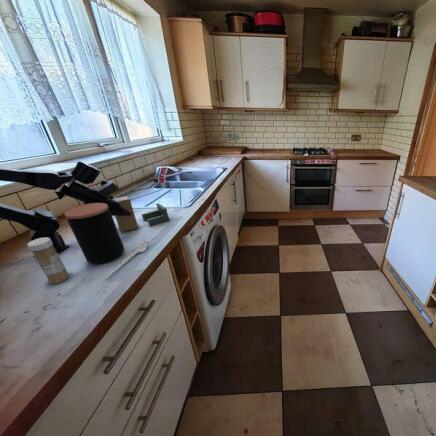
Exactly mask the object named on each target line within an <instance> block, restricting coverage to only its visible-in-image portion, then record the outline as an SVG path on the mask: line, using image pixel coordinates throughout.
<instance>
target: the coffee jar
mask: <svg viewBox="0 0 436 436" xmlns="http://www.w3.org/2000/svg"><path fill="white" fill-rule="evenodd" d="M107 209H108V205H107V204H105V203H91V204H82V205H78V206H74V207H72V208H70V209H68V210H66V211H65V212H64V213H63V215H64V217H65V218H67V224H68V225H69V227H70V229H71V231H72V233H73V235H74V237H75V239H76V241H77V244H78V245H79V248H80V251H81V253H82V254H83V256H84V258H85V260H86V262H87V263H90V264H92V265H104V264H107V263H108V264H109V263H110V262H113V261H115V260H117V259H119V258H120V257H121V256H122V255H123V254H124V252H125V247H124V244H123V241H122V238H121V235H120V233H119V230H118V227H117V225H116V222H115V220H114V218H113V217H114V216H112V215H111V212H110V211H109V210H107Z"/></svg>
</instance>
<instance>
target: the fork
mask: <svg viewBox="0 0 436 436" xmlns="http://www.w3.org/2000/svg"><path fill="white" fill-rule="evenodd" d="M149 244H150V239H143V240H142V242H141V243H140V244H139V246H138V247H137V248H136V249H134V250H133V251H132V252H131V253H130V254H129V255H128V256H127V257H125V259H124V260H122V261H121V262H120V263H119V264H118V265H117V266H115V267H114V268H113V269H112V270H111V271H110V272H109V273H107V274H106V275H105V276H104V279H109V278H110V277H111V276H113V275H114V273H116V272H117V271H118V270H119V269H120V268H122V266H124V265H125V264H126V263H127V262H128V261H130V260H131V259H132V258H133V257H134V256H135V255H137V254H138V253H143V252H146V250H147V248H148V247H149Z"/></svg>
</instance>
